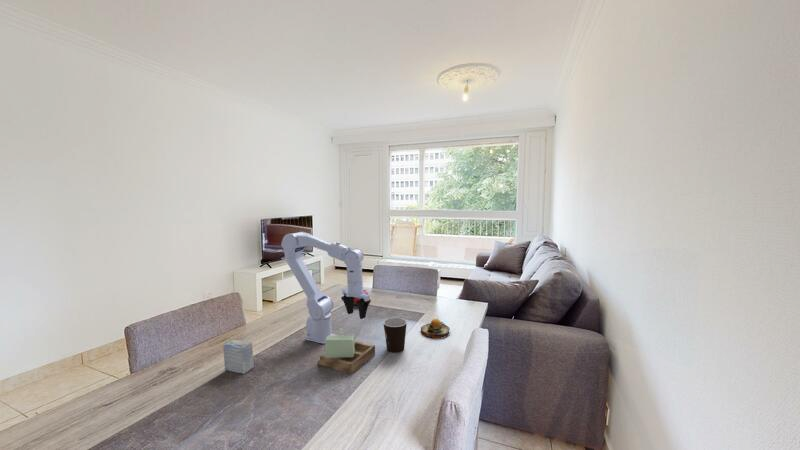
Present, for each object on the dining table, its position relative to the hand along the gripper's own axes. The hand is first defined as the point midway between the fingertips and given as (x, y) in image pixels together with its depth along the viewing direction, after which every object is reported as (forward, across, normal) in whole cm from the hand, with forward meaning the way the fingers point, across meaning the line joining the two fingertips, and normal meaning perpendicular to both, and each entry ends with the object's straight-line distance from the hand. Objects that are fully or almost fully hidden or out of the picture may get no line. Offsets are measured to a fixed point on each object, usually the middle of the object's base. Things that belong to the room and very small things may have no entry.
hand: (356, 315), depth 117 cm
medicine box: (+10, -14, -38) cm, 42 cm away
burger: (+12, +17, +27) cm, 34 cm away
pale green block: (+7, +8, -14) cm, 18 cm away
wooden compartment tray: (+10, +7, -10) cm, 16 cm away
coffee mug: (+11, +14, +7) cm, 19 cm away
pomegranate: (+10, -34, +29) cm, 46 cm away
